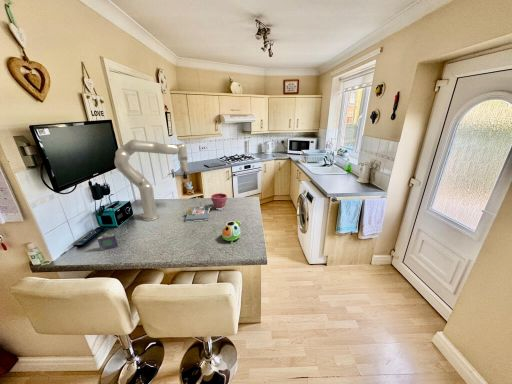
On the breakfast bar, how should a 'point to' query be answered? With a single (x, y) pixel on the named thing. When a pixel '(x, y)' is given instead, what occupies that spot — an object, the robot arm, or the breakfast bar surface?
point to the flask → (107, 242)
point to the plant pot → (219, 200)
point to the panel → (198, 214)
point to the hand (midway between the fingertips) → (185, 178)
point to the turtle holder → (231, 231)
